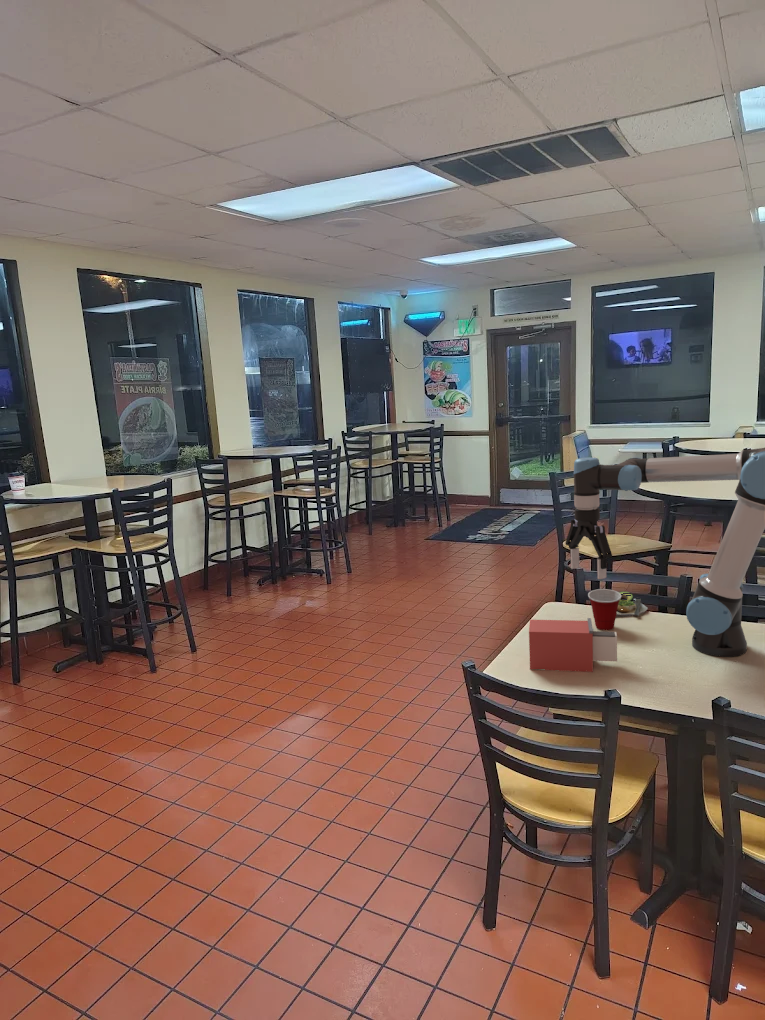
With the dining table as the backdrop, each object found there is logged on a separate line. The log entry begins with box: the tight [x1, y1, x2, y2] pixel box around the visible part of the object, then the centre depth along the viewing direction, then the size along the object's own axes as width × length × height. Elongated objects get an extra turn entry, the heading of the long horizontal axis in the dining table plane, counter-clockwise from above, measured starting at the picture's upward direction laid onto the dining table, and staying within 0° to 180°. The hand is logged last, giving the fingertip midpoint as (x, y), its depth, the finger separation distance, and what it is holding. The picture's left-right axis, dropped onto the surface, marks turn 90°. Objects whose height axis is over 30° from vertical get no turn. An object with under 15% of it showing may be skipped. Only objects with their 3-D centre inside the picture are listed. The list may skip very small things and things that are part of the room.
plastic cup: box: [587, 588, 621, 631], centre depth 228 cm, size 11×11×12 cm
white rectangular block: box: [593, 630, 618, 662], centre depth 201 cm, size 18×3×8 cm, turn 76°
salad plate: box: [616, 591, 648, 618], centre depth 244 cm, size 19×18×5 cm
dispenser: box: [528, 617, 594, 673], centre depth 203 cm, size 18×10×13 cm, turn 76°
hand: (588, 573), depth 214 cm, fingers open, 13 cm apart
